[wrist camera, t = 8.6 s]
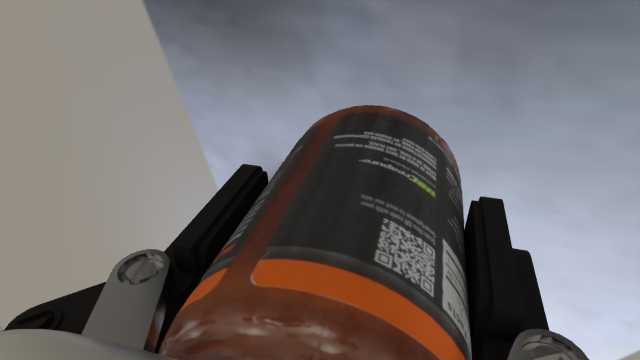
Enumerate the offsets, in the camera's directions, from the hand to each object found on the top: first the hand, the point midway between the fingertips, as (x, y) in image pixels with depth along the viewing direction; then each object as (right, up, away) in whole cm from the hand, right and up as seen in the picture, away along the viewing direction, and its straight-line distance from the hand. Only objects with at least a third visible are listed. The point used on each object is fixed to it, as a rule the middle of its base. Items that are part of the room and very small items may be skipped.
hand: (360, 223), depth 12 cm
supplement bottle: (+1, +1, +2) cm, 3 cm away
